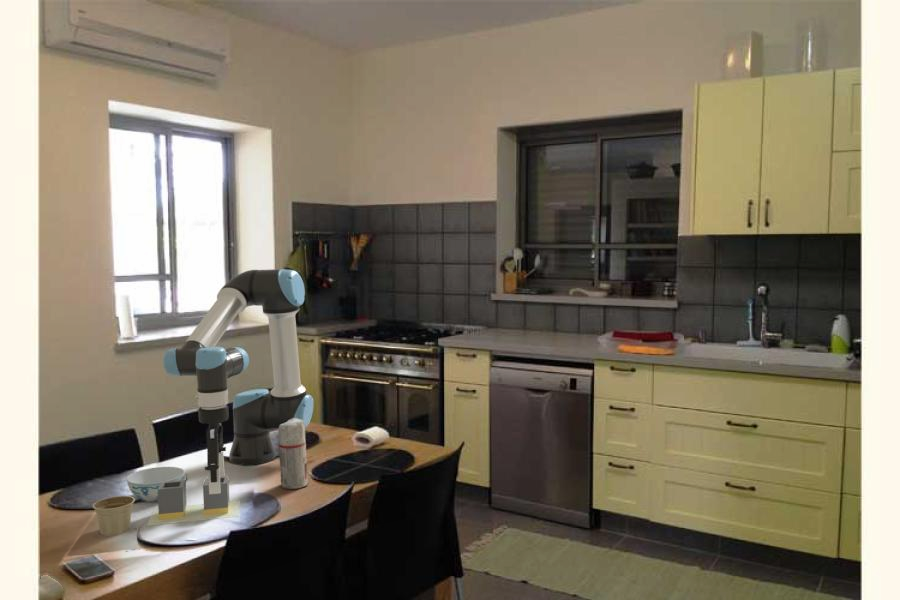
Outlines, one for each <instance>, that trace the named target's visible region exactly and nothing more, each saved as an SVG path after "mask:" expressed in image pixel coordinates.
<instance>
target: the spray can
mask: <svg viewBox="0 0 900 600" xmlns="http://www.w3.org/2000/svg"><path fill="white" fill-rule="evenodd" d="M277 437H278V439H277V440H278V441H277V443H278V455H279V456H278V457H279V472H280V484H281V488H282V489H286V490H297V489H302V488H304V487H306V486H308V485H309V481H308V463H307V462H308V461H307V443H306V428H305V423H304V421H303V420H300V419H297V418H292V419H290V420H288V421H287V422H285V423H284V424H280V425H279V429H278V436H277Z"/></svg>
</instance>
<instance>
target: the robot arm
mask: <svg viewBox="0 0 900 600" xmlns="http://www.w3.org/2000/svg"><path fill="white" fill-rule="evenodd" d="M305 296H306V291H305V283H304V282H303V279H302V277H301V275H300V273H298V272H297V271H296V270H294V269H284V268H281V269H279V268H277V269H275V268H274V269H251V270H246V271H243V272H241V273H239V274H237V275H236V276H234V277H232V278H231V279H230V280H229V281H228V282H226V283H225V284H224V285H223V286H222V287H221V288H220V290H219V291H218V292H217V294H216V301H215V302H214V303H213V305H212V306H211V307H210V308H209V309H208V311H207V313H206V314H205V315H204V317H202V319H201V321H200V322H199V323H198V325H197V326H196V327H195V328H194V330H193V331H192V333H191V334H190V335H189V336H188V337H187V339H186V340H185V341H184V343H183V344H182V346H180V348H178V347H175V348H170V349H168V350H167V351H166V352H165V354H164V356H163V361H162V363H163V368H164V371H165V372H166V374H168V375H170V376H178V377H196V385H197V394H195V396H194V398H195V399H197V404H198V407H199V408H198V409H197V410H198V421H199V423H201V424H205V425H207V424H208V426H207V427H206V429H205V434H206V435H205V436H206V444H207V446H206V447H207V448H206V449H207V451H206V453H207V456H206V457H207V462H206V464H207V465H206V466H205V467H204V470H205V471H206V472H207V475H208V477H207V478H208V479H209V494H219V493H221V490H220V477H225V463H224V462H225V461H224V458H225V457H224V452H226V451H227V450H226V449H227V448H226V446H224V438H223V437H224V435H223V433H224V426H223V425H222V423H225V422H226V421H228V419H230V417H229V414H230V413H229V406H228V404H229V389H228V379H230V378H231V377H235V376H238V375H240V374H241V373H243V372H244V371H245V370H247V368H248V367H249V363H250V358H249V355H248V353H247V351H245V349H243V348H241V347H238V346H234V347H229V348H224V347H222V346H216V345H218V343H219V342H220V340H221V338H222V337H223V335H224V334H225V332H226V331H227V330H228V328H229V327H230V325H231V324H232V322H233V321H234V320H235V318H236V317H237V315H238V314H241V313H242V312H244V311H245V309H246V308H248V307H252V306H258V307H259V306H261V307H262V313H263V314H264V315H265V316H266V317H267V319H268V330H269V341H270V353H271V363H272V372H273V373H272V374H273V384H274V385H273V386H274V387H273V388H272V389H271V390H270V392H269V389H268V388H259V389H257V388H256V389H252V390H246V391H243V392H240V393H237V394H235V396H234V397H233V402H232V411H233V412H232V413H233V414H232V415H233V435H234V436H233V440H232V445H231V447H230V448H231V449H230V451H229V462H230V463H231V464H234V465H240V466H248V465H249V466H250V465H259V464H265V463H269V462H271V461H273V460H275V458H276V457H277V456H276V455H277V454H276V453H277V451H276V447H275V445H274V442H273V440H272V437H271V435H270V434H271V430H279V425H280V424H284V423H285V422H287V421H288V420H290V419H292V418H297V419H300V420H303V421H304V423H305V429H306V428H307V427H308V426H309V424H310V422H311V419H312V416H313V413H314V412H313V411H314V398H313V396H312V395H310V394H307V389H306V387H305V386H304V385H303V384H302V383H301V382H302V380H301V372H300V371H301V370H300V357H299V347H298V331H297V323H296V314H297V313H298V312H299V311H300V306H302V305H303V304H304V302H305V300H306V299H305Z"/></svg>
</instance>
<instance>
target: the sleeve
mask: <svg viewBox="0 0 900 600" xmlns="http://www.w3.org/2000/svg"><path fill="white" fill-rule="evenodd" d="M220 490H221V493H219V494H209V479H208V477H206V478H204V481H203V484H202V493H203V495H202V496H203V497H202V498H203V504H204V515H214V514H224V513H228V512H229V506H230V501H231V500H230V477H229V476H226V475H225V476H220Z"/></svg>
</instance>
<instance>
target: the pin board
mask: <svg viewBox="0 0 900 600" xmlns="http://www.w3.org/2000/svg"><path fill="white" fill-rule="evenodd" d="M240 503H241V500H230V506H229V512H228V513H224V514H214V515H204V503H199V504H197V503H196V504H189V505H188V504H186V505H187V510H186V513H185V515H184V518H174V519H164V520H159V509H158V508H157V507H156V508H153V511H152V513H151V515H150V517H149V519H148V521H147V524H146V526H147V527H148V526H156V525H164V524H165V525H166V524H175V523H176V524H177V523H187V522H195V521H197V522H198V521H205V520H206V521H207V520H215V519H217V520H218V519H226V518H236V517H237V518H238V515H239V509H240Z"/></svg>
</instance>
